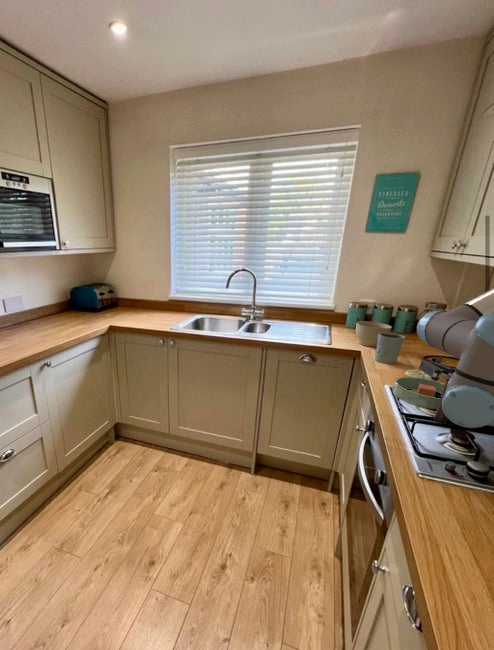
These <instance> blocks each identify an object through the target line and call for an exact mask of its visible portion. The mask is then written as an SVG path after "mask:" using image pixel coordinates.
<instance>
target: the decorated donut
mask: <svg viewBox="0 0 494 650" xmlns="http://www.w3.org/2000/svg"><path fill="white" fill-rule="evenodd" d="M403 375H404V377H417V378H424V379H429V380H432V379H431V377H430V376H429V375H427V374H426V373H424V372H423V371H422V370H420V369H408V370H406V371H405V372H404V373H403ZM433 381H434V380H433ZM437 382H439V380H437Z"/></svg>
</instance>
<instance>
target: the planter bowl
mask: <svg viewBox="0 0 494 650" xmlns="http://www.w3.org/2000/svg"><path fill="white" fill-rule="evenodd" d="M391 330H392V326H391V325H389V324H386V323H382V322H376V321H368V320H367V321H366V320H365V321H364V320H362V321H357V322H356V323H355V334H356V337H357V339H358V343H359V345H362V346H366V347H373V348H374V347H375V348H377V342H378V335H379V333H391Z"/></svg>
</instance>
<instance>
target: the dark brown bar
mask: <svg viewBox="0 0 494 650" xmlns="http://www.w3.org/2000/svg"><path fill="white" fill-rule="evenodd" d="M444 384H445V386H444V389H443V392H442V395H441V398H440V401H439V404H438V407H437V410H435V413H434V417H433V419H432V420H433V421H434V422H435V423H438V424H442V425H446V424H447V422H448V420H449V419H448V418H447V417H446V416H445V414H444V412H443V409H442V402H441V400H442V398H443V396H444V394H445V391H446V387H447V384H448V382H447V381H446V380H445V382H444Z"/></svg>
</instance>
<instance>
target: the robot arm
mask: <svg viewBox="0 0 494 650" xmlns="http://www.w3.org/2000/svg"><path fill="white" fill-rule="evenodd" d="M416 334H417V337H418V338H419V339H420V340H421V341H422V342H423V343H426V344H427V345H428V346H430V347H431V348H434V349H437V350H439V351H442V352H444V353H446V354H448V355H450V356H451V357H454V358H456V359H458V360H459V361H458V363H457V365H456V367H450V366H448V365H445V364H443V363H442V360H443V356H438V358H436V357H431V359H430V361H429V360H428V359H425V358H422V359H421V361H420V364H419V367H418V370H421V371H423V372H424V373H426V374H427V375H429V376H430V377H431V379H432V380H434V381H437V380H438V381H441V379H442V380H445V382H446V381H447V382H448V384H447V387H446V391H445V394H444V396H443V398H442V400H441V402H442V409H443V412H444V414H445V416H446V417H447V418H448V420H449V421H450V422H451V423H453V424H455V425H457V426H459V427H462V428H469V429H477V428H482V427H485V426H487V425H489V424H490V423H492V422H493V421H494V287H493V288H491V289H490V290H488V291H485V292H484V293H482V294H480V295H478V296H476V297H474V298H472V299H470V300H468V301H466V302H465V303H462V304H461V305H459V306H456V307H455V308H453V309H450V310H448V311H447V310H433V311H430V312H428V313H426V314H424V315H423V316H422V317H421V318H420V319H419V321H418V322H417V326H416Z"/></svg>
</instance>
